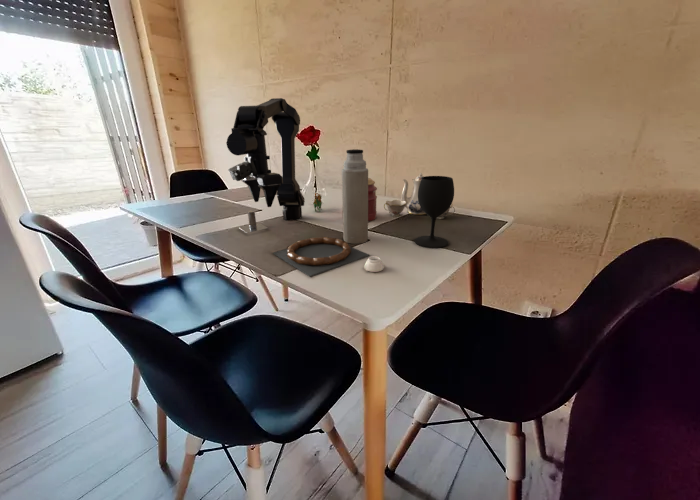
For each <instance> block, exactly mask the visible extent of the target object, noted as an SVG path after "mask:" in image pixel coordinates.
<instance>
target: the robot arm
mask: <svg viewBox="0 0 700 500" xmlns="http://www.w3.org/2000/svg"><path fill="white" fill-rule="evenodd" d="M270 118H271V120H272V121H273V123H274V124H275V127H276V128H275V130H276V132H277V133H278V134H279V137H280V148H281V151H280V152H281V174H280V173H277V172H272V170H271V169H270V168H269V164H268V163H269V162H268V160H270V159H271V158H270V157H271V156H270V155H267V154H268V153H267V145H266V137H265V136H267V135H268V133H267V131H266V130H265V126H267V125H268V123H269V119H270ZM233 123H234V124H233V127H232V128H231V133H230V134H229V135H228V136H227V139H226V142H225V143H226V148H227V149H228V151H229V152H230V153H231V154H232V155H234V156H243V155H244V156H243V162H240V163H238V164H236V165H234V166H232V167H230V168H229V169H228V170H227V171H228V173H229V174H230V176H231V178H232V180H233V181H236V182H240V181H241V182H242V183H243V184H245V185H246V186H247V187H248V190H249V191H250V194H251V196H252V199H253V200H254V202H255V203H259V201H260V195H261V190H262V191H263V195H264V198H265V199H264V200H265V203H266V207H267V208H271V207H272V206H273V204H274V201H275V198H277V202H278V205H279V207H282V210H281V211H282V219H283V221H286V222H289V221H298V220H300V219H302V218H303V212H302V211H303V210H302V209H303V208H302V207H304V206H305V203H306V202H305V200H306V199H305V197H304V195H303V194H302V191H301V186H300V184H299V183H298V181H297V179H296V148H295V147H296V141H295V140H296V137H297V135H298V133H299V132H300V125H301V116H300V115H299V112H298V111H297V109H296V108H295V107H293V106H292V105H290V104H289V103H288V102H287V100H286V99H285V98H282V97H277V98H276V97H275V98H271V99H269V100H266V101H264V102H262V103H259V104H256V105H240V106H239V107H238V108H237V111H236V114H235V119H234V122H233Z"/></svg>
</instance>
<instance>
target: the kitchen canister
mask: <svg viewBox="0 0 700 500" xmlns="http://www.w3.org/2000/svg"><path fill="white" fill-rule="evenodd" d="M375 184H376V181H375V180H373V179H372V178H370V177H368V222H371V221H374V220H376V218H377V214H378V211H377V198H378V196H377V195H376V194H377V190H378V187H377V186H375Z"/></svg>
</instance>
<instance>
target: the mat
mask: <svg viewBox="0 0 700 500" xmlns="http://www.w3.org/2000/svg"><path fill="white" fill-rule="evenodd" d="M328 238H330V237H329V236H328ZM350 248H351V253H350V254H349V255H348V256H347V257H346V258H345V259H344V260H342V261H339V262H336V263H333V264H329V265H317V266H311V265H304V264H298V263H296V262H294V261H293V260H291V259H289V258H288V256H287V250H288V248H285V249H281V250H277V251H274V252H272V254H273V255H274V256H276V257H277V258H279V259H280V260H282V261H284V262H285V263H287V264H288V265H290V266H291V267H293V268H294V269H297V270H298V271H299V272H301V273H303V274H305V276H308V277H310V278H312V277H314V276H318V275H320V274H323V273H326V272H329V271H332V270H335V269H337V268H340V267H343V266H345V265H349V264H352V263H354V262H357V261H360V260H362V259H365V258H369V257H370V254H369V253H366V252H364V251H362V250H360V249H357V248H355V247H352V246H350ZM342 251H343V248H342V247H339V246H337V245H332V244H311V245H307V246H304V247H300V248H299V249H297V250H296V251H295V254H297V255H299V256H301V257H309V258H322V257H330V256H333V255H336V254H339V253H341V252H342Z"/></svg>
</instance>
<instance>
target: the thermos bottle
mask: <svg viewBox="0 0 700 500" xmlns="http://www.w3.org/2000/svg"><path fill="white" fill-rule="evenodd" d="M368 178H369V169H368V168H367V161H366V160H364V150H363V149H360V148H359V149H357V148H356V149H355V148H354V149H347V150H346V159H345V160H344V162H343V168H342V169H341V193H342V194H341V195H342V196H341V197H342V231H343V232H342V233H343V235H342V236H343V241H345V242H347V243H348V244H353V245H354V244H355V245H358V244H363V243H366V242H368V240H369V221H368Z"/></svg>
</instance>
